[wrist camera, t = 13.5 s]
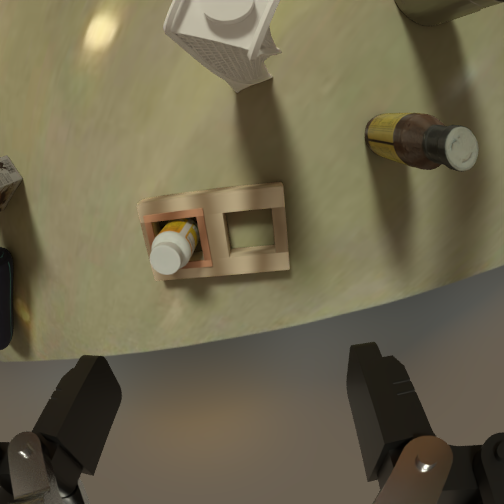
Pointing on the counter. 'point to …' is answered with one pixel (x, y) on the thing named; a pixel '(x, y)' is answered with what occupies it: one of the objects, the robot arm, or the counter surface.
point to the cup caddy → (220, 229)
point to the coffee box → (7, 180)
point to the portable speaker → (6, 298)
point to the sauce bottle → (421, 141)
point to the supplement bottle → (174, 245)
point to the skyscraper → (226, 36)
